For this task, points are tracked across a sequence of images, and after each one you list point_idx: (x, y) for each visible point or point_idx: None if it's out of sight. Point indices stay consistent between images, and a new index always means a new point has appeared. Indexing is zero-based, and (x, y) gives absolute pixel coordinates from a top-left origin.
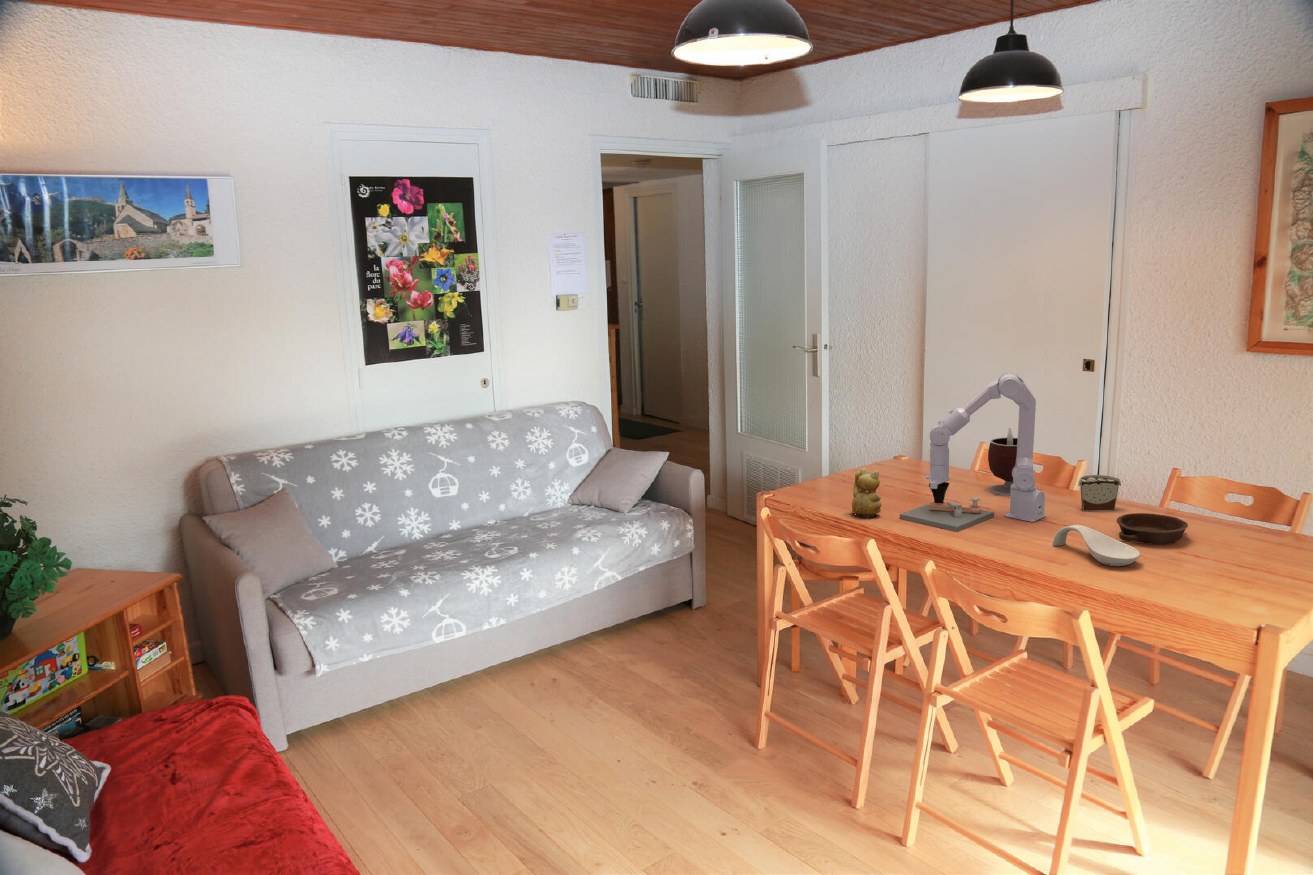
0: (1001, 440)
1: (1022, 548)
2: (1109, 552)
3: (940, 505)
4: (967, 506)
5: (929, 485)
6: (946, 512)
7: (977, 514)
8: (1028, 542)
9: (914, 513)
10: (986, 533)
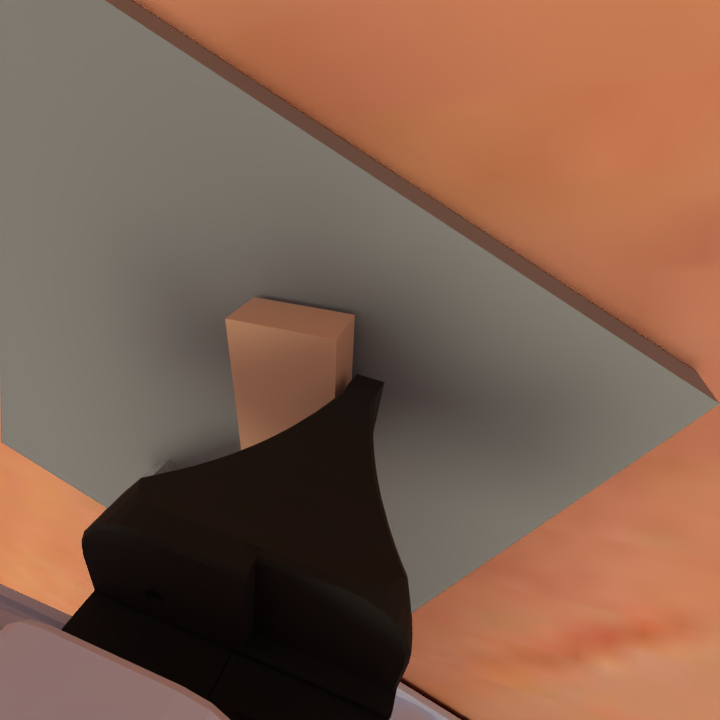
0: None
1: (8, 575)
2: None
3: (250, 425)
4: None
5: (109, 507)
6: None
7: None
8: (72, 607)
9: (107, 138)
10: (85, 528)
